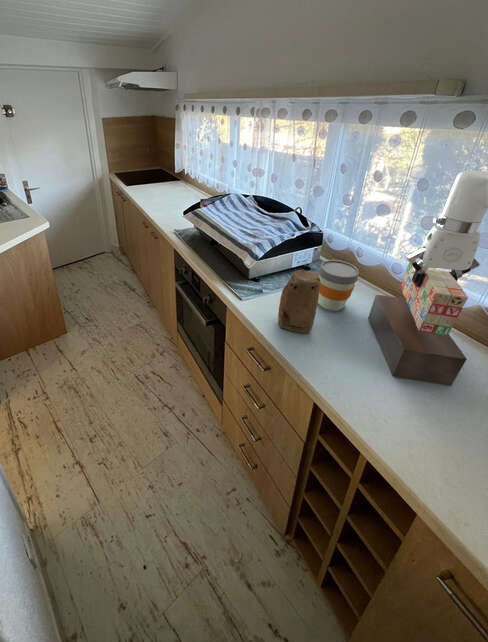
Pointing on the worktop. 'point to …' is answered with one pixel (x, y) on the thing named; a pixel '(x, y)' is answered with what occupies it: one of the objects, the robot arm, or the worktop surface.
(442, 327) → the stack of blocks
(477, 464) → the worktop surface
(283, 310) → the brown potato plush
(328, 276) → the reusable coffee cup
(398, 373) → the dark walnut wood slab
